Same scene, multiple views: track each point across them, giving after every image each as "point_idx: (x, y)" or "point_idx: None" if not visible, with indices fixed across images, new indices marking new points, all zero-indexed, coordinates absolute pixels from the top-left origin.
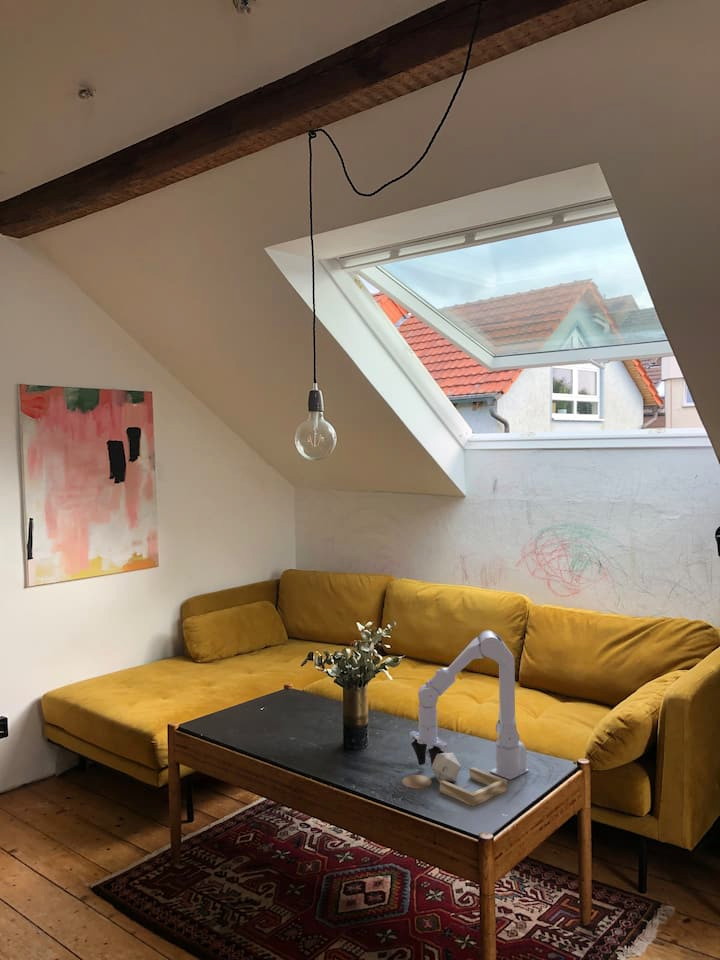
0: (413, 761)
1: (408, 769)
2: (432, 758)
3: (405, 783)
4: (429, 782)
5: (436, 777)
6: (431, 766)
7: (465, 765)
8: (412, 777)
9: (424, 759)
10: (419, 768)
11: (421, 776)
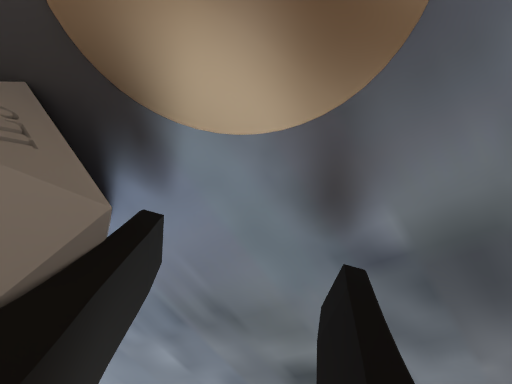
0: (489, 339)
1: (486, 201)
2: (15, 324)
3: None
4: (79, 13)
5: (41, 113)
6: (138, 238)
7: (131, 366)
8: (341, 23)
9: (321, 345)
10: (376, 257)
11: (257, 111)
